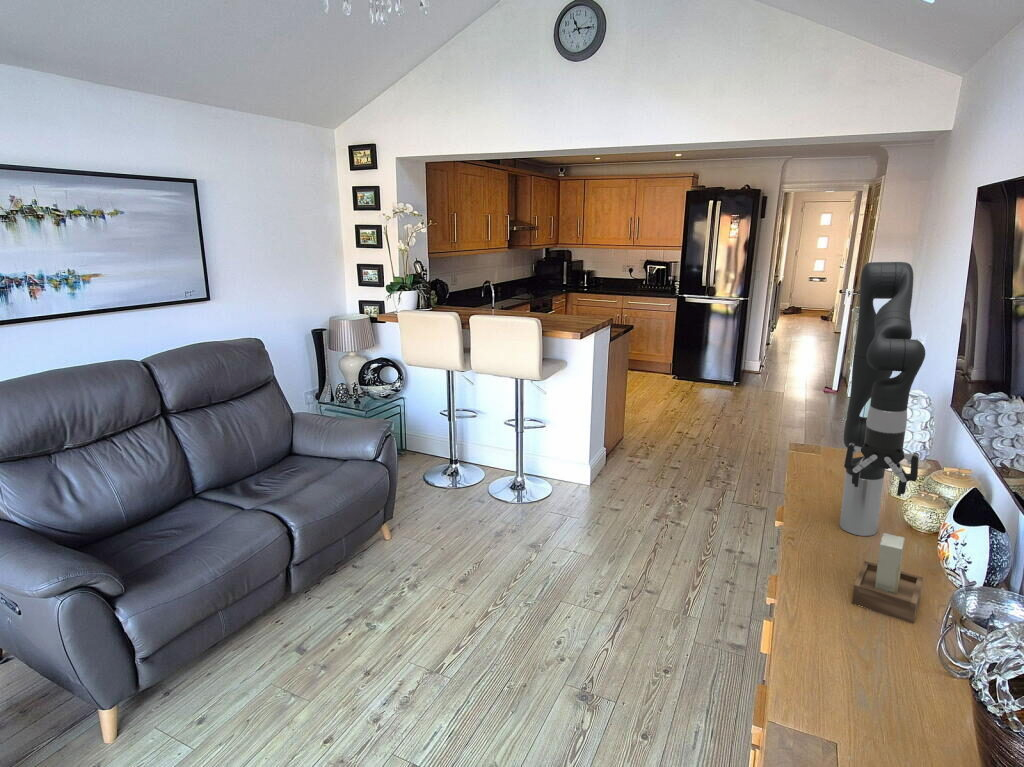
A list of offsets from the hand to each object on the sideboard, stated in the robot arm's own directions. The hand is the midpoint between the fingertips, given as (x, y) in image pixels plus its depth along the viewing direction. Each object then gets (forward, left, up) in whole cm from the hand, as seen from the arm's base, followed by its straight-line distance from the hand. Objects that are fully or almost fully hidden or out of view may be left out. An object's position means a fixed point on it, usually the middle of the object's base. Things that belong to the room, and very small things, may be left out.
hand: (877, 490), depth 137 cm
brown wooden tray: (+4, +5, -26) cm, 27 cm away
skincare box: (+4, +5, -22) cm, 23 cm away
